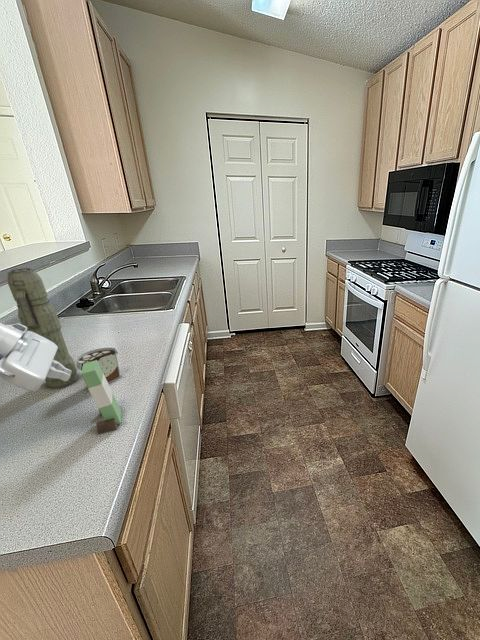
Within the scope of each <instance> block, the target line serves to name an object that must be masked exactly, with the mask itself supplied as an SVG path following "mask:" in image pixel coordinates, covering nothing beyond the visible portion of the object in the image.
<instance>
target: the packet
mask: <svg viewBox="0 0 480 640" xmlns="http://www.w3.org/2000/svg"><path fill="white" fill-rule="evenodd" d="M80 371H81V370H80ZM80 376H81V377H82V379H83V382H84V384H85V385H86V387H87V390H88V392H89V394H90V396H91V398H92V399H93V401H94V403H95V405H96V407H97V409H98V408H99V409H98V411H99V410H100V412H101V414H102V418H103V419H104V420H108V419H112V418H115V421H116V425H119V424H121V423H122V409H121V408H120V405H119V403H118V402H117V399H116V397H115V395H114V392H113V390H112V388H111V386H110V385H109V384H110V383H109V384H108V382H107V380H106V378H105V376H104V374H103V372H102V370H101V368H100V366H99V364H98V362H97V360H95V361H91V362H88V363H84V364H83V367H82V371H81V372H80ZM100 412H99V413H100ZM104 420H103V421H104Z"/></svg>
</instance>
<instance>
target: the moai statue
mask: <svg viewBox="0 0 480 640" xmlns="http://www.w3.org/2000/svg"><path fill="white" fill-rule="evenodd" d="M7 285H8V287H9V290H10V292H11V295H12V297H13V300H14V301H15V302H16V307H17V317H18V319H19V321H20V324H21V325H24V326H26V327H27V330H26V331H32V332H34V333H36V334H38V335H40V336H42V337H44V338H46V339H48V340H50V341H52V342H53V343H55V344H56V345H57V346H58V349H57V351H56V354H55V356H54V359H53V360H55V361H58V362H59V363H60V364H62V365H63V366H64V367H65V368H67V369H69V370H71V371H72V373H71V377H70V378H69V380H68V381H63V380H61V379H56V378H49V377H46V379H45V381H44V382H45V383H46V386H47V388H49V389H60V388H61V389H62V388H65V387H68V386H71V385H73V384H75V383H76V382H77V381H78V380H79V379H80V376H79V373H78V368H77V365H76V363H75V361H74V357H72V356H71V355H70V353H69V349H68V346H67V344H66V341H65V339H64V336H63V333H62V330H61V328H62V325H61V321H60V320H59V316H58V314H57V310H56V308H54V306H53V304H51V301H50V299H49V298H48V292H47V290H46V287H45V284H44V281H43V279H42V277H41V276H40V275H39V274H38V272H37V271H36V270H35V269H32V268H30V267H29V268H27V267H25V268H24V267H23V268H16V269H11V270H9V272H7Z"/></svg>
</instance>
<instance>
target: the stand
mask: <svg viewBox="0 0 480 640" xmlns="http://www.w3.org/2000/svg"><path fill="white" fill-rule="evenodd" d="M97 409H98V411H99V414H100V416H102V414H101V412H100V410H99V408H98V407H97ZM102 417H103V416H102ZM95 427H96V430H97V433H98V435H100V434H104V433H108V432H111V431H116V430H117V429H118V424H116V421H115V418H112V419H108V420H100V421H96V423H95Z"/></svg>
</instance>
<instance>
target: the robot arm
mask: <svg viewBox="0 0 480 640" xmlns="http://www.w3.org/2000/svg"><path fill="white" fill-rule="evenodd" d="M26 330H27V327H26V326H24V325H22V324H21V323H13V324H5V323H2V322H0V379H2V380H3V381H6V382H8V383H10V384H13V385H14V386H17V387H18V388H21V389H23V390H25V391H29V392H37V391H38V390H39V389H40V387H42V385H43V383H44V382H46V381H45V379H46V377H49V378H56V379H61V380H63V381H68V380H69V378H70V377H71V373H72V371H71V370H69V369H67V368H65V367H64V366H63V365H62V364H60V363H59V362H58V361H55V360H53V359H54V356H55V354H56V351H57V349H58V346H57V345H56V344H55V343H53V342H52V341H50V340H48V339H46V338H44V337H42V336H40V335H38V334H36V333H34V332H32V331H26Z"/></svg>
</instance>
